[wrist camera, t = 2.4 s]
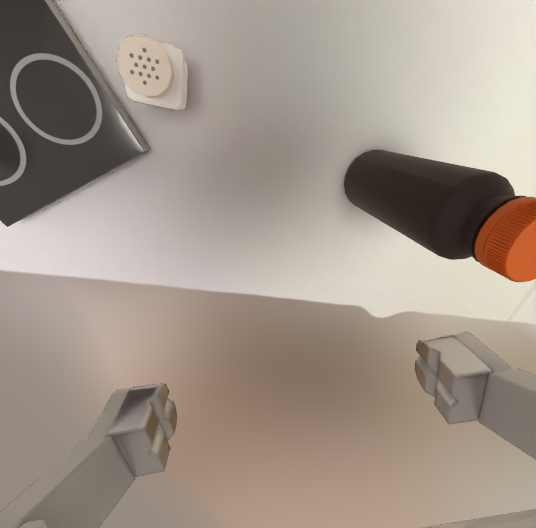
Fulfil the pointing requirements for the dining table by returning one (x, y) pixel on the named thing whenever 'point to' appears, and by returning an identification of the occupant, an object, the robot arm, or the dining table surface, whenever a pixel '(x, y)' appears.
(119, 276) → the dining table surface
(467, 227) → the bottle
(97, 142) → the hob
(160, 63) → the pepper shaker
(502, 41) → the dining table surface
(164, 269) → the dining table surface
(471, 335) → the robot arm
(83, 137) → the hob zones
